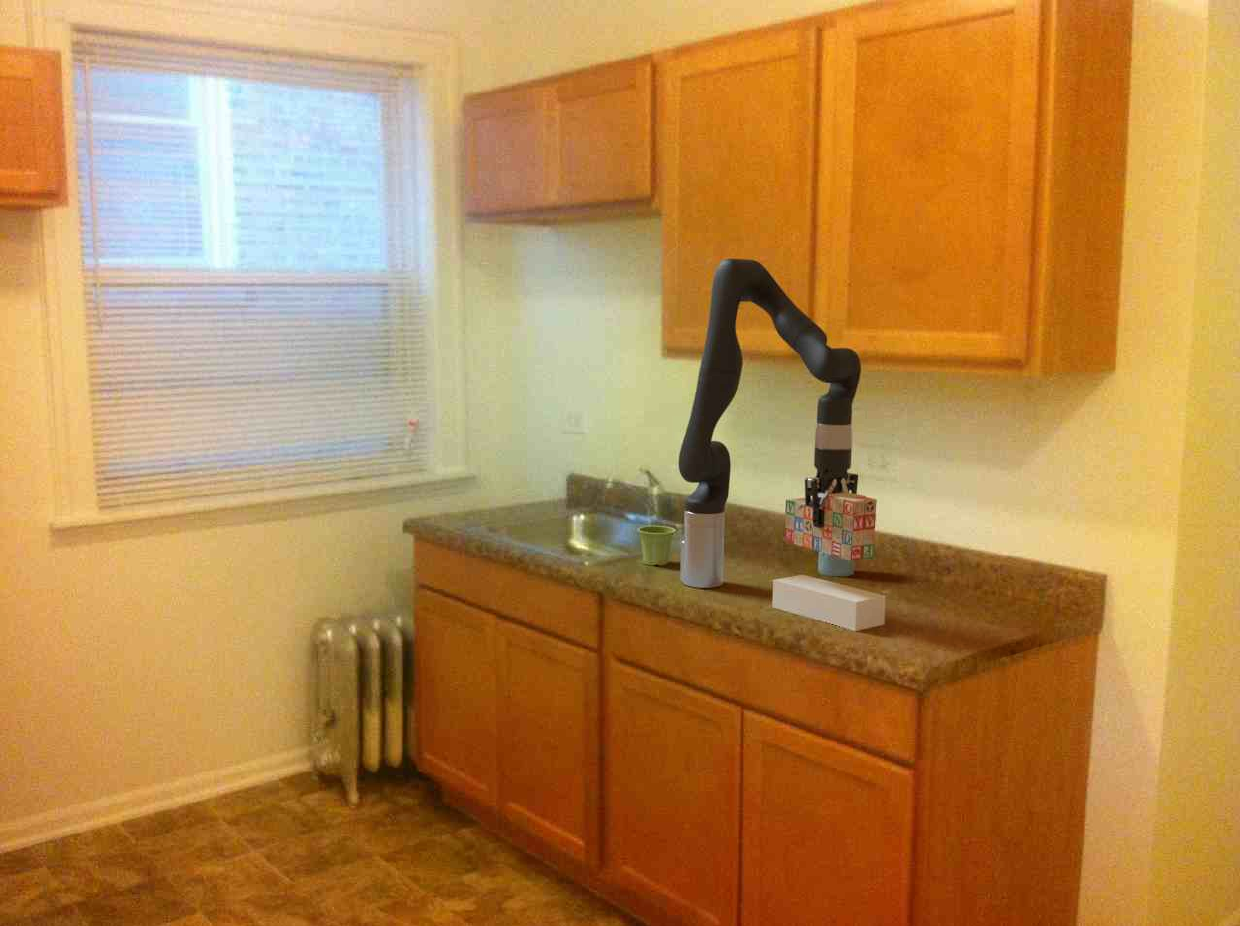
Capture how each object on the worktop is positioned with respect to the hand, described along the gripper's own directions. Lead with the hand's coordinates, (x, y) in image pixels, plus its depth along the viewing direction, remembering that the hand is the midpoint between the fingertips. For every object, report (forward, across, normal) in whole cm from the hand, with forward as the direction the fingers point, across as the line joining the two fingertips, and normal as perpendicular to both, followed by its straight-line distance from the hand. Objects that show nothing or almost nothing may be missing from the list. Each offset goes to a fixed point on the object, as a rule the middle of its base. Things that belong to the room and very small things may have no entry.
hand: (830, 525), depth 243 cm
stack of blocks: (+5, 0, 0) cm, 6 cm away
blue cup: (+19, -32, -26) cm, 46 cm away
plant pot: (+19, -2, -59) cm, 62 cm away
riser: (+19, 0, 0) cm, 19 cm away
